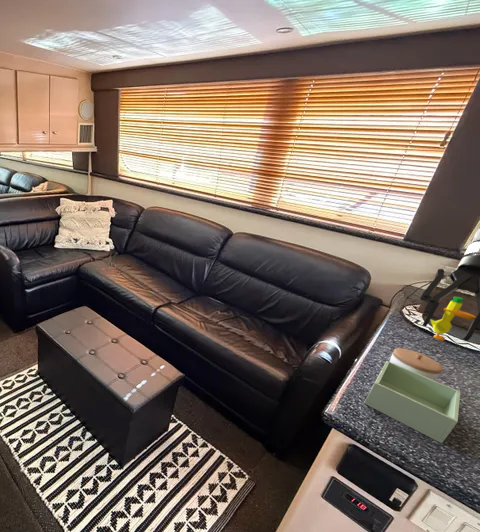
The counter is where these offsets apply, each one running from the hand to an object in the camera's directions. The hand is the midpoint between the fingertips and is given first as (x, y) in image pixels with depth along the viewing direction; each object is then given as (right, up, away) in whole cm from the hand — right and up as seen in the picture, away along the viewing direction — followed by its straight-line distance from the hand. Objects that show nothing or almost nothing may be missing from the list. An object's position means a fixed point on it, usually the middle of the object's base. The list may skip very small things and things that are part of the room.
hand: (445, 330), depth 81 cm
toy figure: (+2, -3, +4) cm, 5 cm away
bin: (-5, -22, +5) cm, 23 cm away
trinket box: (+7, -19, +17) cm, 26 cm away
